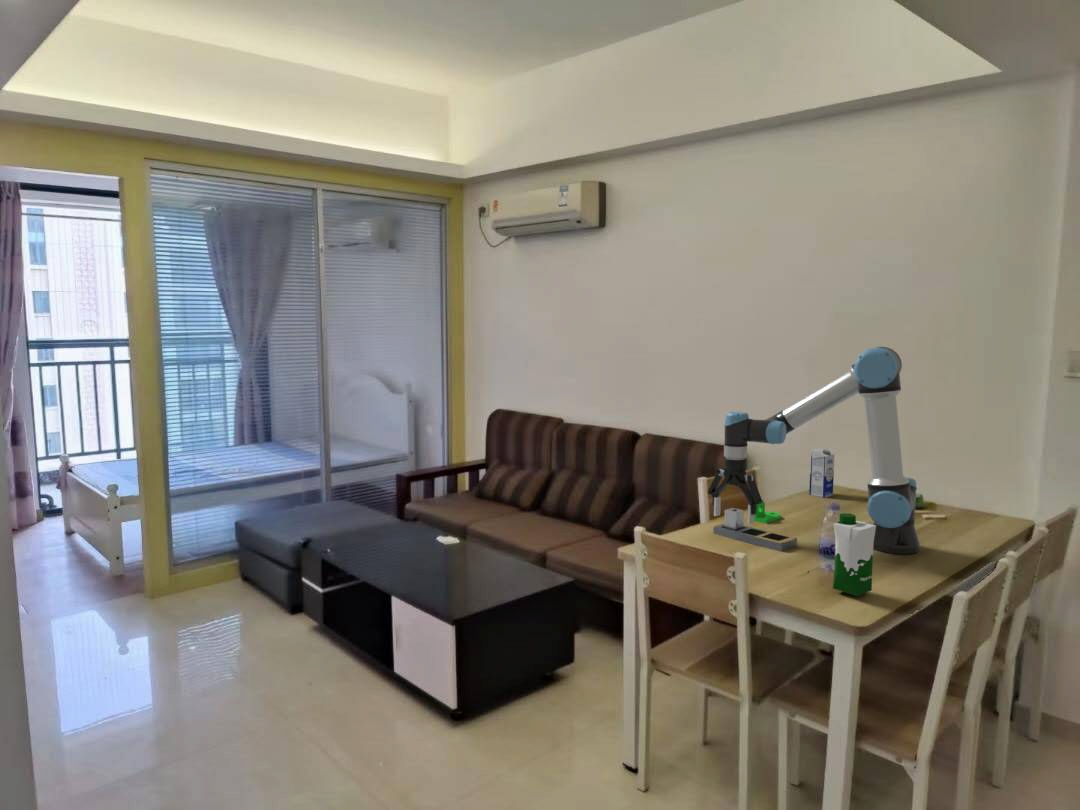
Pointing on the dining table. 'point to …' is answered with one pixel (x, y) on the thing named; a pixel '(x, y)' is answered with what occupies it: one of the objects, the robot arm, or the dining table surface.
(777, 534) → the grey slotted tray
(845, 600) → the dining table surface
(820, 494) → the milk carton
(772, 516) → the mechanical part
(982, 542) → the dining table surface
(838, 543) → the soya milk
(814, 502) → the dining table surface
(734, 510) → the block
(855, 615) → the dining table surface
